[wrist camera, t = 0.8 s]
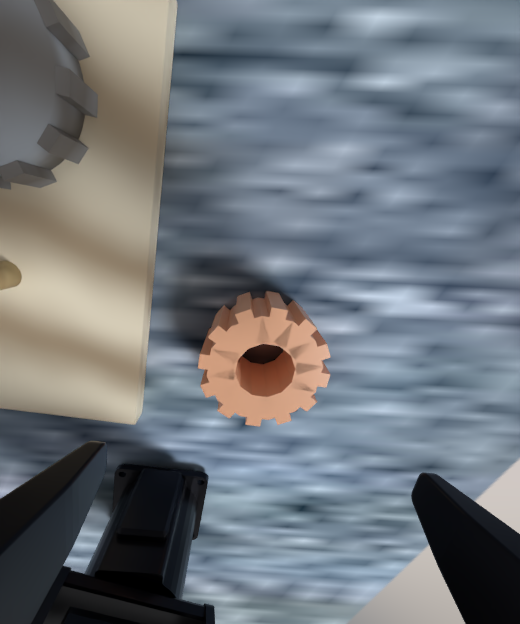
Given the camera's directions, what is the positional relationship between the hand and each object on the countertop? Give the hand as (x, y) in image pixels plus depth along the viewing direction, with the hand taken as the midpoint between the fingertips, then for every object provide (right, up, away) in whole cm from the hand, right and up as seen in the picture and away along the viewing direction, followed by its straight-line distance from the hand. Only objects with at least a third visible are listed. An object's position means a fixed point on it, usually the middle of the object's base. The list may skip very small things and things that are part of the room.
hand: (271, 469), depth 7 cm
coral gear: (0, +2, +10) cm, 10 cm away
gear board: (-13, +9, +7) cm, 17 cm away
